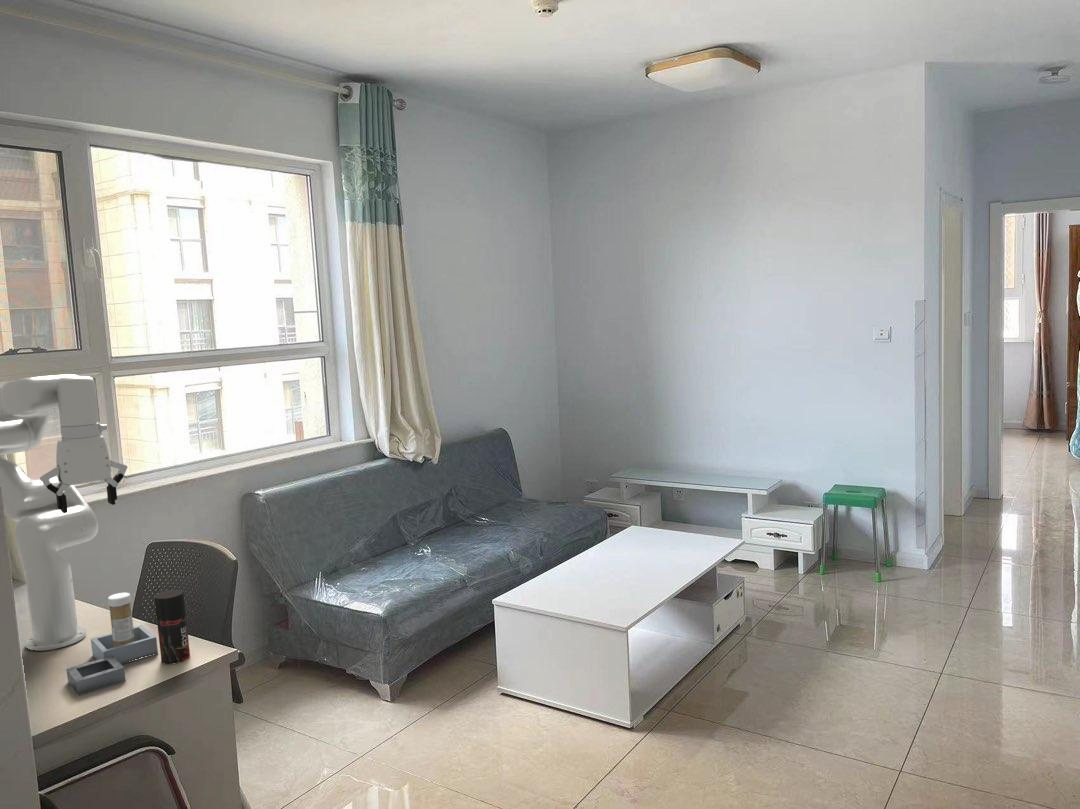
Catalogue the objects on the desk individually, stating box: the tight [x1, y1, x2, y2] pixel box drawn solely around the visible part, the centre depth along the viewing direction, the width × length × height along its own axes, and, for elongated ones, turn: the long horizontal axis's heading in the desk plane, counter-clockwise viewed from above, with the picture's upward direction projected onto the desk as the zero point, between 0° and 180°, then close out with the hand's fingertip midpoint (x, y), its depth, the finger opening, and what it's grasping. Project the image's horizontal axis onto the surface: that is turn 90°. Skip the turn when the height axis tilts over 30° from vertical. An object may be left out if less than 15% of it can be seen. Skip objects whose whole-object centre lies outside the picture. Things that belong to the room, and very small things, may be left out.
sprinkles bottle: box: [107, 592, 134, 647], centre depth 187 cm, size 5×5×13 cm
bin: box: [90, 624, 159, 665], centre depth 187 cm, size 11×11×4 cm
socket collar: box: [65, 656, 126, 697], centre depth 173 cm, size 9×9×3 cm
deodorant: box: [154, 589, 191, 665], centre depth 183 cm, size 6×6×15 cm
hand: (88, 507), depth 183 cm, fingers open, 9 cm apart
